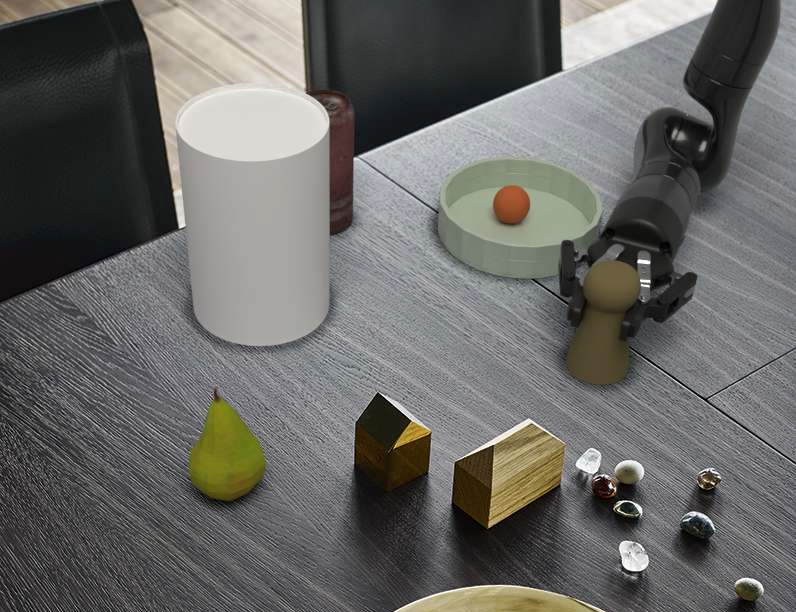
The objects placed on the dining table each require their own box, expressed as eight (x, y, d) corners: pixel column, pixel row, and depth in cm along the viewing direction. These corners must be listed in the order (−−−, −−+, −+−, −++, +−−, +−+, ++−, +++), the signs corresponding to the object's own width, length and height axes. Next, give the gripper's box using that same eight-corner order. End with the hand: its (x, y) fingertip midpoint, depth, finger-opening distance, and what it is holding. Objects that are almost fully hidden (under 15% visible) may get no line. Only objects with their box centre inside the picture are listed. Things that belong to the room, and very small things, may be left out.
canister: (179, 338, 121) (158, 153, 106) (209, 257, 130) (194, 76, 116) (318, 352, 120) (316, 168, 106) (338, 270, 130) (339, 90, 115)
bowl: (590, 192, 142) (595, 160, 139) (602, 283, 130) (608, 250, 127) (438, 184, 142) (440, 152, 139) (436, 274, 130) (439, 241, 127)
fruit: (258, 458, 110) (252, 351, 101) (272, 508, 106) (267, 401, 97) (185, 469, 109) (173, 362, 100) (196, 520, 104) (184, 413, 96)
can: (290, 207, 137) (287, 88, 127) (347, 203, 138) (349, 85, 128) (297, 239, 133) (294, 118, 123) (356, 234, 134) (358, 115, 124)
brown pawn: (555, 351, 122) (569, 257, 114) (610, 338, 123) (628, 245, 115) (583, 390, 118) (600, 296, 110) (639, 377, 119) (661, 283, 112)
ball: (510, 184, 137) (535, 211, 137) (484, 208, 137) (508, 235, 137) (514, 172, 133) (540, 199, 133) (486, 197, 133) (512, 224, 133)
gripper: (583, 178, 124) (529, 273, 113) (725, 213, 121) (684, 314, 110) (572, 242, 129) (520, 338, 118) (708, 277, 126) (667, 379, 115)
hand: (599, 326), depth 114 cm, fingers closed on brown pawn, 4 cm apart
